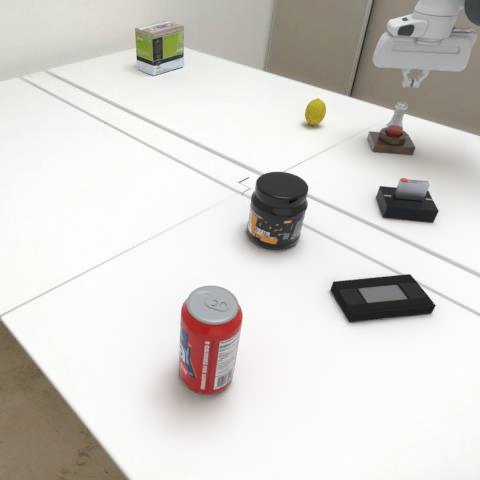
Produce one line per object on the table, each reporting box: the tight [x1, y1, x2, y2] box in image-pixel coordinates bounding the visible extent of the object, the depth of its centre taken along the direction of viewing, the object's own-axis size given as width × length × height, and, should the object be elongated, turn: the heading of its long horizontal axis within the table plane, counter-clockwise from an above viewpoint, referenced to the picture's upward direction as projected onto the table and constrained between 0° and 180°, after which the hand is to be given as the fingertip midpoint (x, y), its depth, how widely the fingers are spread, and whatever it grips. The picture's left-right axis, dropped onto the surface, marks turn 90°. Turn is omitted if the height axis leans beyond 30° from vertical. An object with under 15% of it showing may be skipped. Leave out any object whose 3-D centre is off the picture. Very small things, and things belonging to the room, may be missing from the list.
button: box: [386, 125, 404, 137], centre depth 118 cm, size 4×4×2 cm
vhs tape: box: [330, 273, 437, 323], centre depth 77 cm, size 8×14×2 cm, turn 98°
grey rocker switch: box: [394, 177, 431, 201], centre depth 95 cm, size 6×2×4 cm, turn 80°
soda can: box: [178, 285, 244, 396], centre depth 62 cm, size 8×8×15 cm
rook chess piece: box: [385, 101, 409, 129], centre depth 126 cm, size 4×4×8 cm
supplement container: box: [246, 171, 309, 250], centre depth 88 cm, size 10×10×12 cm
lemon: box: [304, 97, 327, 127], centre depth 129 cm, size 6×6×8 cm
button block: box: [366, 127, 416, 156], centre depth 120 cm, size 10×8×4 cm
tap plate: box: [375, 185, 440, 224], centre depth 98 cm, size 10×8×3 cm
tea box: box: [134, 20, 185, 76], centre depth 165 cm, size 15×10×15 cm, turn 130°
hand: (409, 86), depth 111 cm, fingers closed
